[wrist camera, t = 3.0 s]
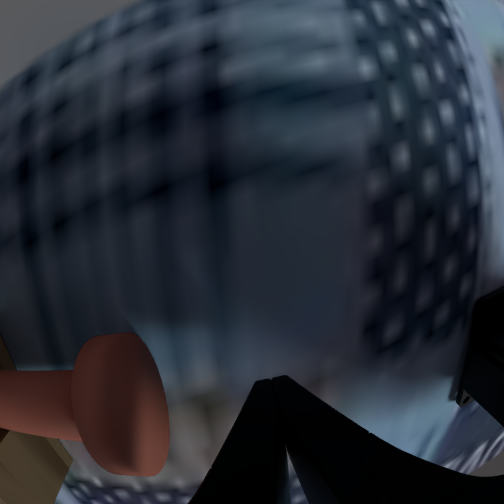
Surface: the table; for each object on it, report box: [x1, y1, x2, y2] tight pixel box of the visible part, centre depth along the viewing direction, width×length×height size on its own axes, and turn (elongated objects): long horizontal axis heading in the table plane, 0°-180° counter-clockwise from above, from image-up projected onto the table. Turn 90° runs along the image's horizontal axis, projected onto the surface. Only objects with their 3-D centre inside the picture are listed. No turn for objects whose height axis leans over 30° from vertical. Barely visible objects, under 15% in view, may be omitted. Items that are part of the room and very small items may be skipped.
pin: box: [0, 332, 170, 476], centre depth 7 cm, size 10×4×4 cm, turn 100°
